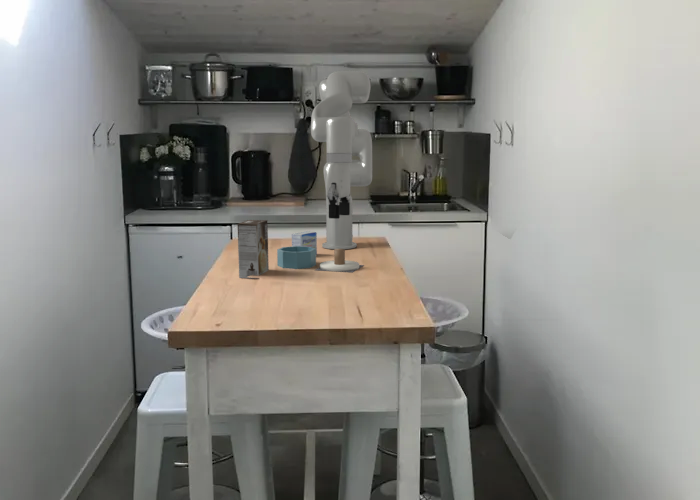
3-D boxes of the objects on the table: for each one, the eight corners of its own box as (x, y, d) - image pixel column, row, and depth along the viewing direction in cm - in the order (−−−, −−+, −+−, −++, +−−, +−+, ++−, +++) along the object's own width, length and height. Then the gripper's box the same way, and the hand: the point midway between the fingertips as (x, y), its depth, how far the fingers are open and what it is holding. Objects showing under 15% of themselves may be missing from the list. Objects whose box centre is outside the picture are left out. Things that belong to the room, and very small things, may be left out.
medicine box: (301, 260, 237) (301, 234, 236) (291, 259, 240) (291, 233, 238) (317, 257, 243) (317, 231, 242) (307, 256, 246) (306, 230, 244)
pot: (287, 264, 231) (286, 245, 230) (319, 266, 228) (319, 247, 227) (273, 270, 221) (272, 251, 220) (307, 272, 217) (306, 253, 216)
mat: (327, 266, 227) (327, 263, 227) (364, 268, 224) (364, 265, 224) (314, 273, 216) (314, 270, 216) (352, 275, 213) (352, 272, 212)
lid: (327, 263, 227) (327, 245, 226) (364, 265, 224) (364, 247, 223) (314, 270, 216) (314, 251, 215) (352, 272, 212) (352, 253, 212)
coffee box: (249, 272, 219) (247, 219, 216) (269, 272, 217) (268, 219, 215) (238, 278, 210) (236, 223, 207) (259, 279, 208) (258, 224, 206)
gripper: (336, 158, 224) (336, 213, 226) (317, 160, 207) (317, 219, 210) (359, 158, 221) (359, 214, 224) (342, 160, 205) (342, 220, 208)
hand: (339, 216), depth 217 cm, fingers open, 9 cm apart
